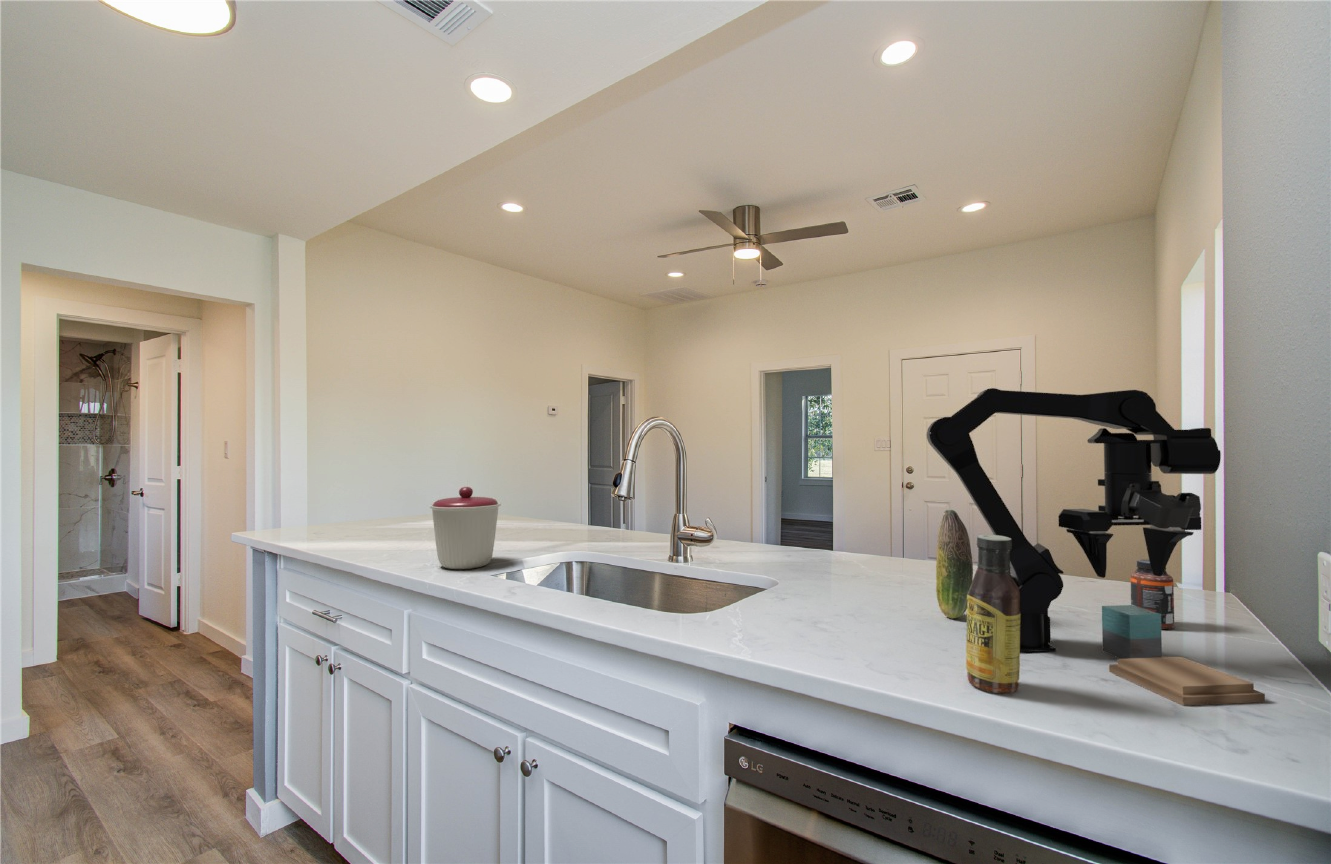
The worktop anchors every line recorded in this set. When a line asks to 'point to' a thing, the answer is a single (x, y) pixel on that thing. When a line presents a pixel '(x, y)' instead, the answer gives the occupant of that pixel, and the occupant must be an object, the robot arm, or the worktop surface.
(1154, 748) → the worktop surface
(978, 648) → the sauce bottle
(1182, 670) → the walnut stand
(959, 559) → the vegetable
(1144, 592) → the supplement bottle
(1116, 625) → the teal and grey block
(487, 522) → the canister
